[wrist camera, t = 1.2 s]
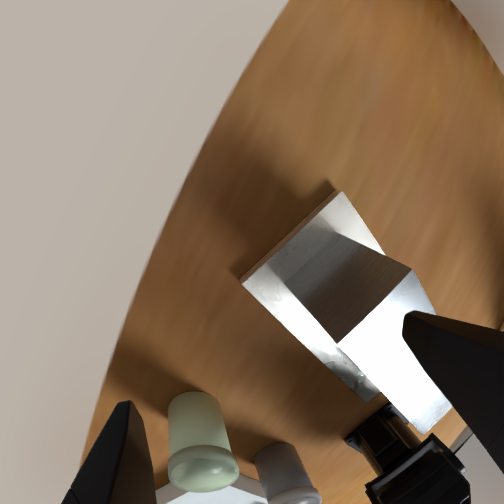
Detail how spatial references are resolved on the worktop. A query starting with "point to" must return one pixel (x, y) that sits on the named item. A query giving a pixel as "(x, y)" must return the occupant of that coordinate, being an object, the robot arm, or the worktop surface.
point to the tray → (215, 494)
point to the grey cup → (284, 476)
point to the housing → (349, 307)
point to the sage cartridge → (199, 444)
